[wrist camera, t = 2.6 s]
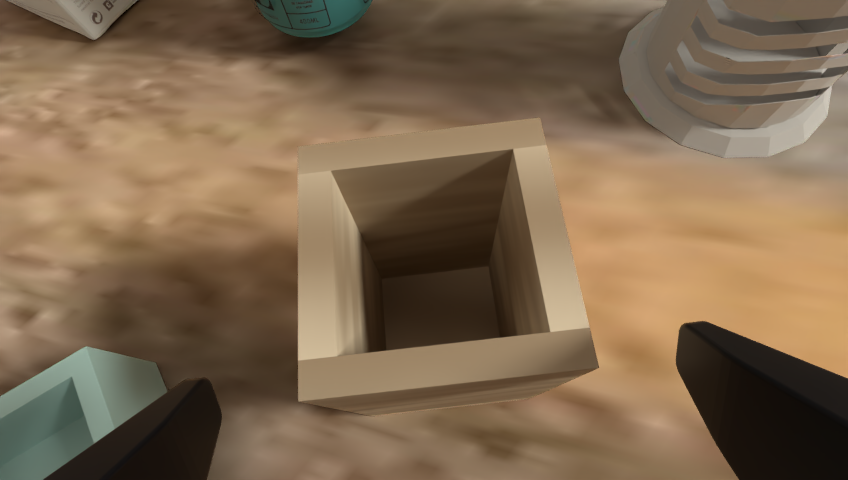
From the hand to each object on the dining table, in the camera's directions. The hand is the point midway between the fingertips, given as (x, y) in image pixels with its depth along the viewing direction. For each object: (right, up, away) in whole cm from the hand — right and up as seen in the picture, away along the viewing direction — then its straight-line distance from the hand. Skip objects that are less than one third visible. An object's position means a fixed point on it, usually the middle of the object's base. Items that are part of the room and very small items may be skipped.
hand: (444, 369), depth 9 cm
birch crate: (0, -1, +10) cm, 10 cm away
